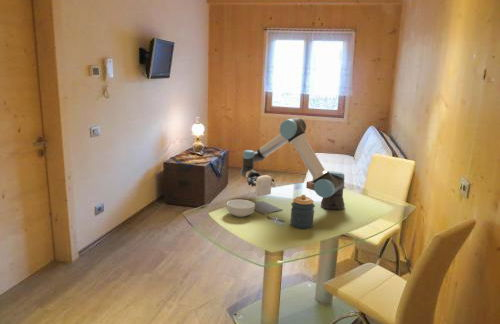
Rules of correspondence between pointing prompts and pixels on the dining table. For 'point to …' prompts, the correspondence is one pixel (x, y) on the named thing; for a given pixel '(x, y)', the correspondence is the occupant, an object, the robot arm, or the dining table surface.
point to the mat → (265, 207)
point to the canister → (302, 212)
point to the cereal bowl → (240, 207)
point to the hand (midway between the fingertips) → (266, 185)
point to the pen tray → (310, 184)
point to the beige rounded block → (263, 185)
